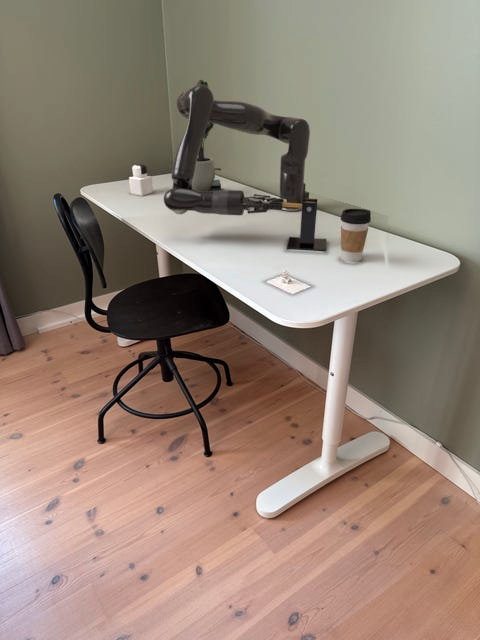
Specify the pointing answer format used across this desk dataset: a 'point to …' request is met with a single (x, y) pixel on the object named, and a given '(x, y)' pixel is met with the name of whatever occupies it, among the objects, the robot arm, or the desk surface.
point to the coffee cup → (354, 233)
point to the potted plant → (205, 166)
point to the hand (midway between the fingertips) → (282, 204)
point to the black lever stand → (307, 229)
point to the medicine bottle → (140, 181)
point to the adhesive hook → (288, 283)
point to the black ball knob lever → (286, 203)
